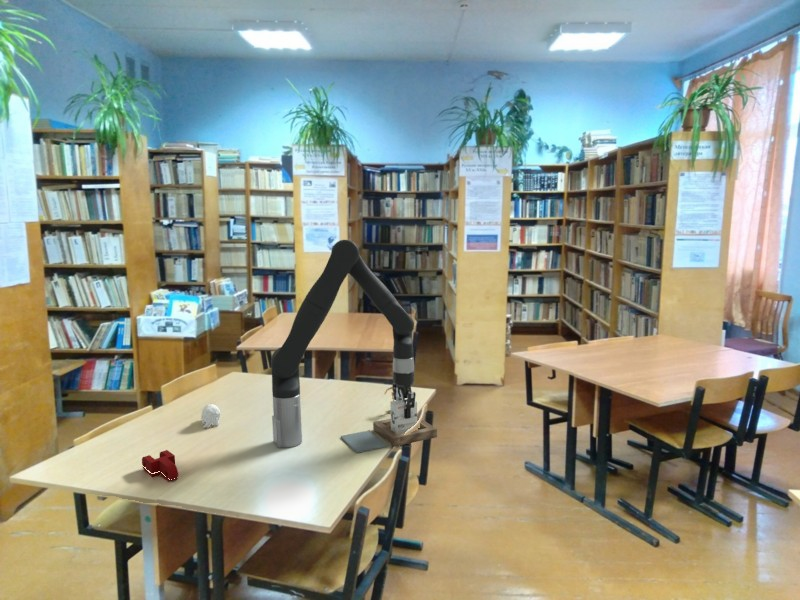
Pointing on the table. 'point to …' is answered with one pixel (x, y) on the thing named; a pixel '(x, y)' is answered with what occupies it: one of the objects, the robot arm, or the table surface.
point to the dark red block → (161, 466)
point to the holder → (395, 439)
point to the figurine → (392, 392)
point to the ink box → (402, 417)
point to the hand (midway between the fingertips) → (403, 415)
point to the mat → (363, 441)
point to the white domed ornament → (210, 415)
